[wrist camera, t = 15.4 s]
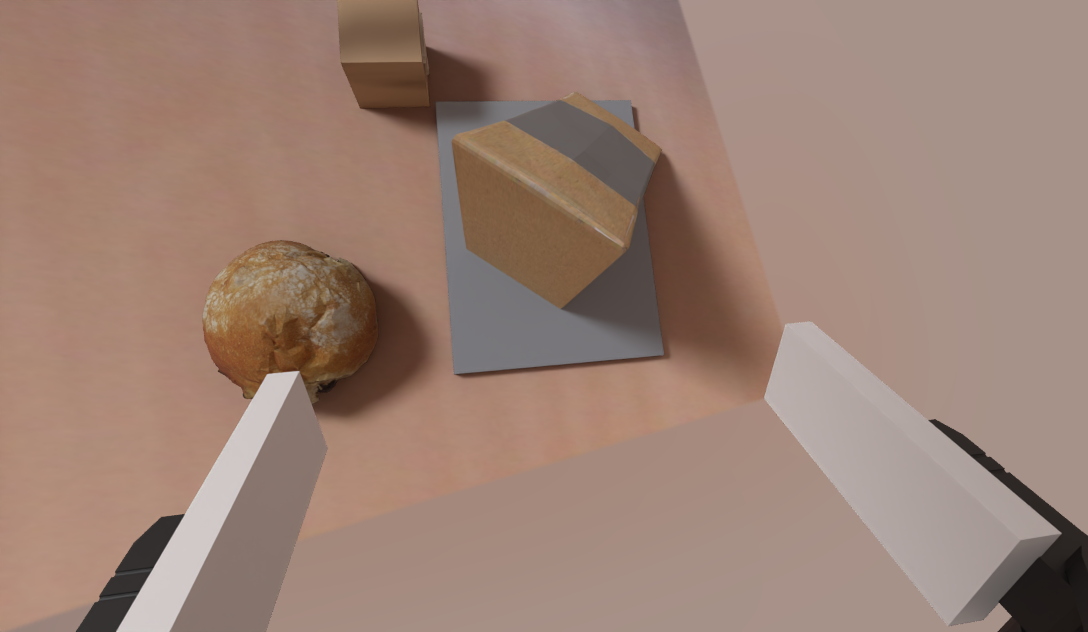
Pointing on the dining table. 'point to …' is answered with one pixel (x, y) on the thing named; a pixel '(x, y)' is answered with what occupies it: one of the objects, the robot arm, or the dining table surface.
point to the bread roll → (289, 317)
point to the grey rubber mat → (517, 312)
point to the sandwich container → (553, 193)
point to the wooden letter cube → (384, 52)
